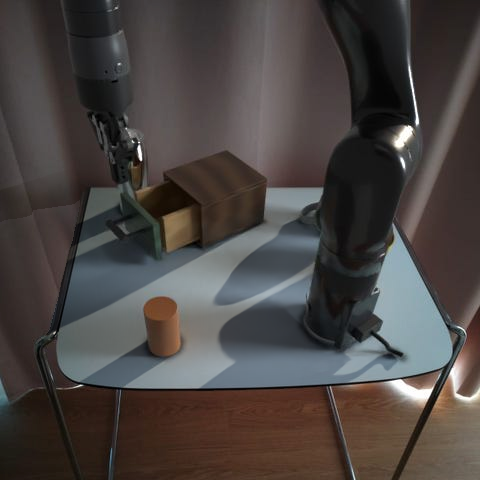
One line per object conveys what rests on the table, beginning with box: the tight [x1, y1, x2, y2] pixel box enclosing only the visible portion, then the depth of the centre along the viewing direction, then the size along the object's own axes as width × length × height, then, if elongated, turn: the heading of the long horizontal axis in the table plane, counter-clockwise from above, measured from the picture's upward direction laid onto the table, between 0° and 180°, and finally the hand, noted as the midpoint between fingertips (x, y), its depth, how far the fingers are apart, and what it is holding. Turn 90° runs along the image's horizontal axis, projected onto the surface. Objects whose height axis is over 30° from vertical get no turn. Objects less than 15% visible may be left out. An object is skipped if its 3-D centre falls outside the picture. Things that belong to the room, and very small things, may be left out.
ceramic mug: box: [299, 195, 322, 233], centre depth 95 cm, size 11×8×8 cm
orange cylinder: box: [142, 295, 181, 358], centre depth 72 cm, size 5×5×8 cm
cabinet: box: [162, 149, 268, 249], centre depth 94 cm, size 15×13×10 cm
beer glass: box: [117, 127, 149, 213], centre depth 94 cm, size 7×7×15 cm
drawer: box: [104, 180, 200, 262], centre depth 89 cm, size 18×11×8 cm, turn 127°
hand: (120, 181), depth 79 cm, fingers closed
